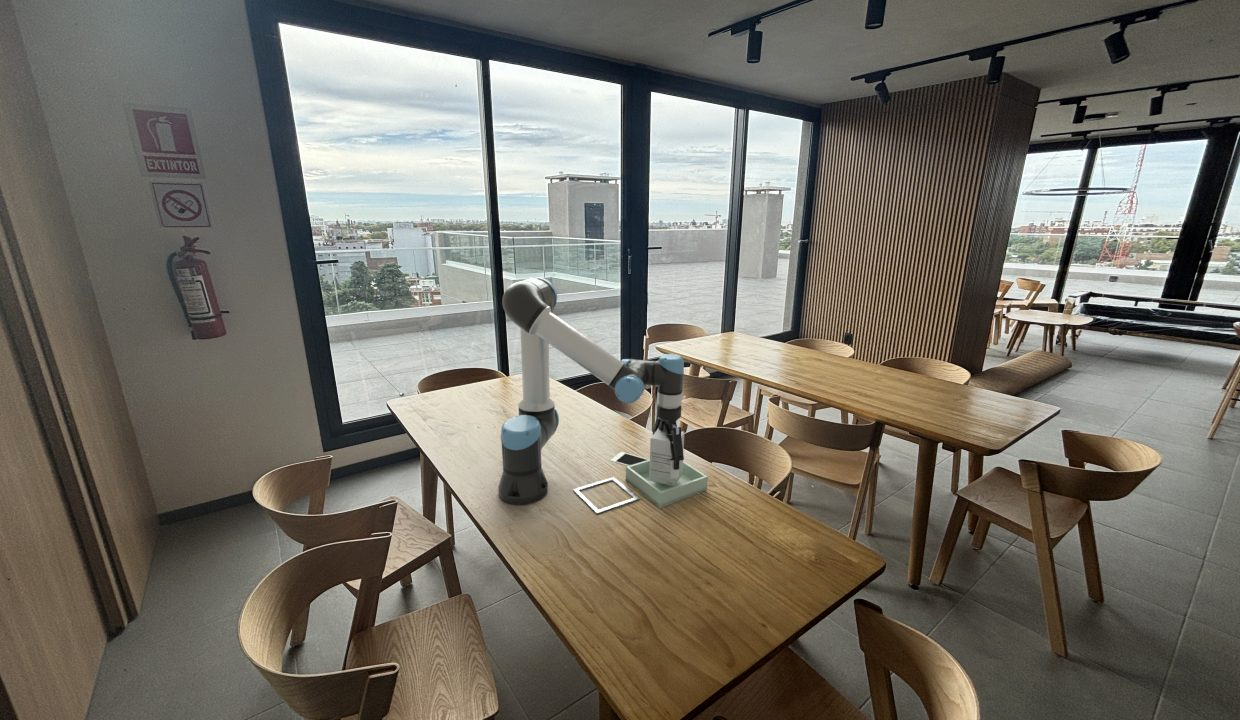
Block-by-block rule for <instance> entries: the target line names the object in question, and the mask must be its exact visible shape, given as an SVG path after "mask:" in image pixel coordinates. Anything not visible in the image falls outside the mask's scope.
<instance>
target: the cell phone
mask: <svg viewBox="0 0 1240 720" xmlns="http://www.w3.org/2000/svg"><path fill="white" fill-rule="evenodd" d="M647 460H650V458H649V459H648V458H646V457H642V456H638V455H634V454H631V453H628V452H624V451H620V452H619V453H617V454H616V455H615V456H613V457H612V458H611V459H610V462H613V463H617V464H620V465H623V466H625V467H627V466H630V465H633V464H637V463H640V462H643V461H647Z"/></svg>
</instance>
